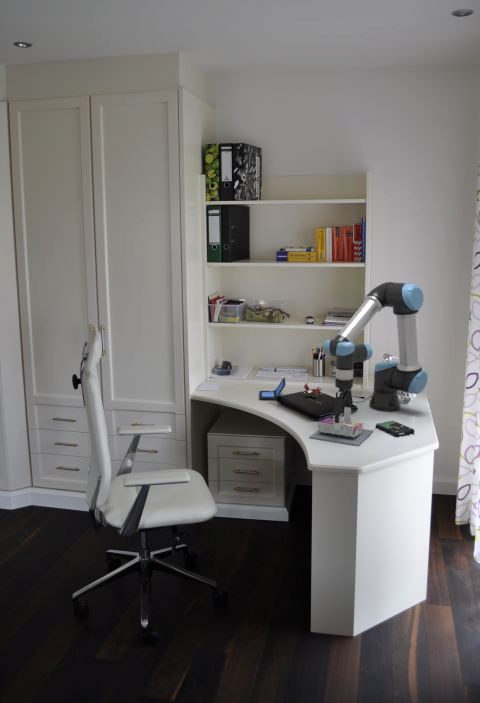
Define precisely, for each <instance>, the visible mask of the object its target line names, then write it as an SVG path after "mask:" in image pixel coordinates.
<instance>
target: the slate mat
mask: <svg viewBox="0 0 480 703" xmlns="http://www.w3.org/2000/svg"><path fill="white" fill-rule="evenodd" d="M372 434H374V430H371V429H366V428H362V431H361V434H360V435H358V436H356V437H354V438H353V437H347V436H341V435H335V434H328V433H322V432H318V430H316V431H315V432H314V433H312V434H311V435H310V436H308V438H309V439H312V440H319V441H324V442H329V443H334V444H336V443H337V444H342V445H348V446H355V447H360V446H361V445H362V444H363V443H364V442H365V441H366V440H367V439H368V438H369V437H370V436H371V435H372Z"/></svg>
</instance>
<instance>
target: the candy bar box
mask: <svg viewBox="0 0 480 703" xmlns="http://www.w3.org/2000/svg"><path fill="white" fill-rule="evenodd" d="M317 428H318V429H317V431H318V432H322V433H328V434H335V435H341V436H347V437H353V438H354V437H356V436H358V435H360V434H361V431H362V429H363V422H357V421H351V420H350V421H344V419H341V430H334V418H329V417H327V418H325V419H322V420H319V422H318V427H317Z"/></svg>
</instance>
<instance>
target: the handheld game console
mask: <svg viewBox="0 0 480 703" xmlns="http://www.w3.org/2000/svg"><path fill="white" fill-rule="evenodd" d="M285 387H286V379H285V377H283V378H282V379H281V381H280V383H279V384H278V385H277V387H276V389H274V390H260V391H259V395H258V396H259V400H260V401H269V402H270V401H276V402H277V401H278V397H279V396H280V394H281V393H282V392H283V390H284V389H285Z"/></svg>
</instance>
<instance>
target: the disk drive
mask: <svg viewBox="0 0 480 703" xmlns="http://www.w3.org/2000/svg"><path fill="white" fill-rule="evenodd" d="M375 429H377V430H379V431H381V432H383V433H386V434H388V435H390V436H392V437H394V436H395V437H394V438H400V436H401V437H407V436H411V435H410V434H413V435H415V429H414V428H413V427H412V428H411V427H410V426H407V425H405V424H402V423H399V422H398V421H395V420H389V421H384V422H379V423H377V422H376V424H375ZM406 435H407V436H406Z"/></svg>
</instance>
